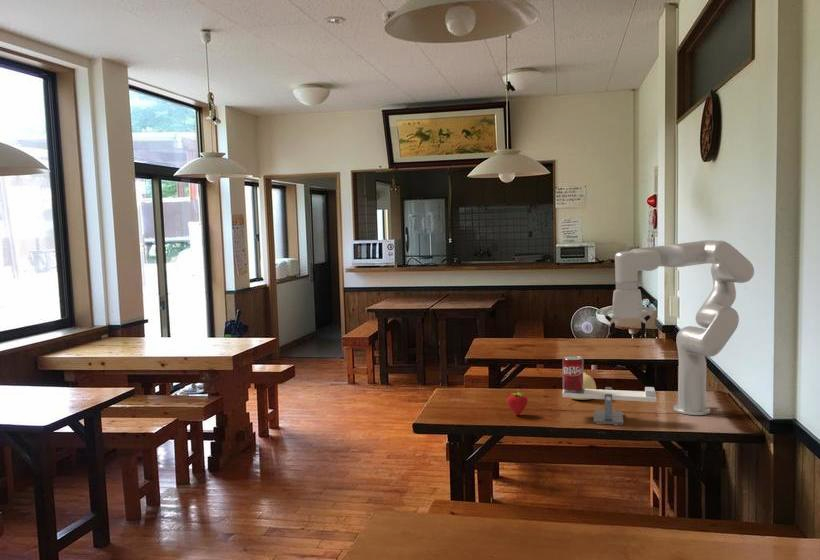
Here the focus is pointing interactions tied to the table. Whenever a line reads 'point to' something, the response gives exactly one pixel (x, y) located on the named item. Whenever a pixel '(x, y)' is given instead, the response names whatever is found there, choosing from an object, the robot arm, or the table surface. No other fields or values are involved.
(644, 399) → the beam
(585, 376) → the sculpture
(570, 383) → the soda can
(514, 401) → the strawberry
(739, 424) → the table surface
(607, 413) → the fulcrum stand
